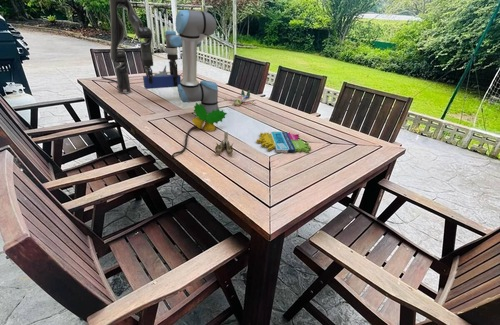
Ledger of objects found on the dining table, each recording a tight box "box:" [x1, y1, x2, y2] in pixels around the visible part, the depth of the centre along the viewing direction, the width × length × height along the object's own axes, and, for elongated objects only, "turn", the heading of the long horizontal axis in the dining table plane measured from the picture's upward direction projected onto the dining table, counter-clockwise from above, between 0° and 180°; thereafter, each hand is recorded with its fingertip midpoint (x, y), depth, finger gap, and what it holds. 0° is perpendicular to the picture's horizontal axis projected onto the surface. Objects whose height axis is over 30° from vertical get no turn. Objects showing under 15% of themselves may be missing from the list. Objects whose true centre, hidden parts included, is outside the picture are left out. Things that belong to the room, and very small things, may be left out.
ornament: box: [191, 102, 228, 132], centre depth 162 cm, size 21×8×15 cm, turn 105°
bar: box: [142, 74, 182, 90], centre depth 200 cm, size 27×5×8 cm, turn 120°
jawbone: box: [214, 131, 234, 156], centre depth 136 cm, size 9×15×10 cm
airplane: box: [150, 65, 170, 76], centre depth 274 cm, size 38×31×10 cm
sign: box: [256, 131, 312, 154], centre depth 152 cm, size 26×2×30 cm
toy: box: [223, 89, 257, 106], centre depth 219 cm, size 28×7×30 cm
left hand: (150, 82), depth 195 cm, fingers closed on bar, 5 cm apart
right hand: (174, 85), depth 206 cm, fingers closed on bar, 5 cm apart
